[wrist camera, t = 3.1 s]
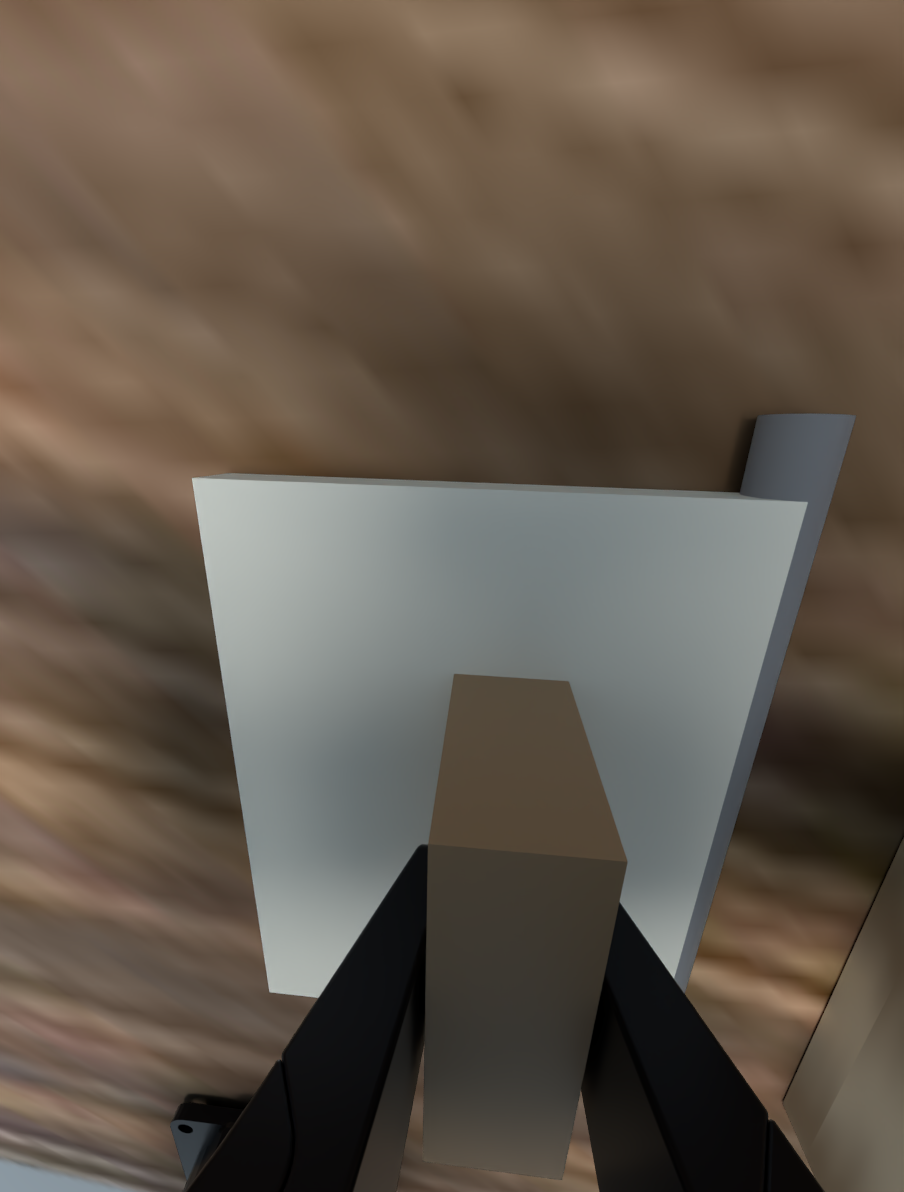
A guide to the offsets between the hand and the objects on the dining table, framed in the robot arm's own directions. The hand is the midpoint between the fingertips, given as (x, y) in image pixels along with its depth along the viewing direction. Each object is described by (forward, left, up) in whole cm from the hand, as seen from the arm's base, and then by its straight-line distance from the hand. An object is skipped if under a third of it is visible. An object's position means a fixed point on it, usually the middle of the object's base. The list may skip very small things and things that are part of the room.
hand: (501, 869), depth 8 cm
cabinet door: (0, 0, -2) cm, 3 cm away
